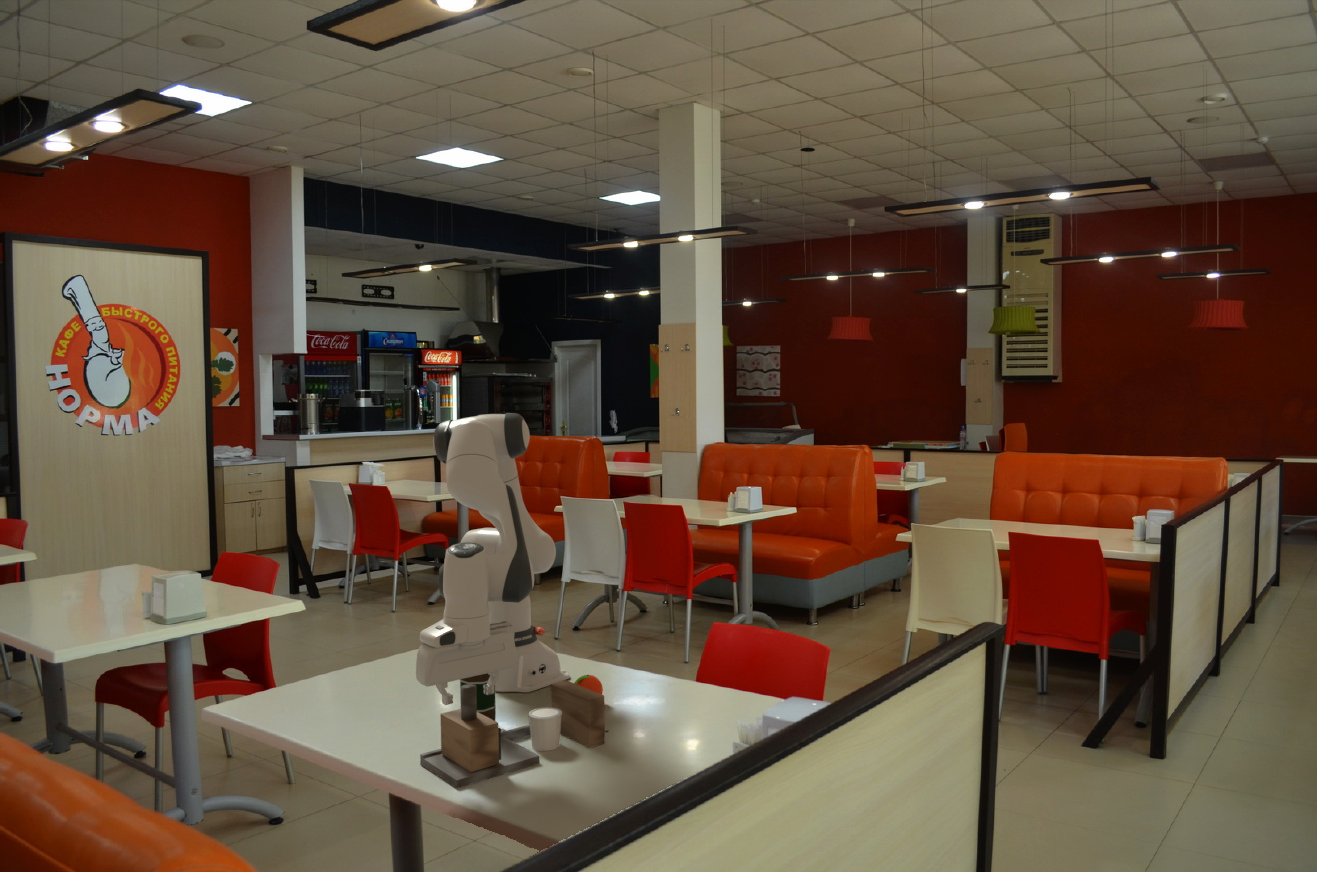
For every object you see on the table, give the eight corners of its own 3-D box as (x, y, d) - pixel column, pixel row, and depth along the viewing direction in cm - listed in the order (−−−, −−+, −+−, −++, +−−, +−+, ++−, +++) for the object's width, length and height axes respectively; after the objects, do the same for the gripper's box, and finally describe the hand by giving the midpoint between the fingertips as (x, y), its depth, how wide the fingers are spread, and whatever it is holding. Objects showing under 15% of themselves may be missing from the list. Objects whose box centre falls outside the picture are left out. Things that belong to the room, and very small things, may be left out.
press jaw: (472, 745, 191) (470, 675, 190) (502, 762, 182) (501, 689, 181) (441, 753, 186) (439, 682, 186) (471, 772, 177) (469, 697, 177)
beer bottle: (466, 735, 201) (464, 624, 200) (456, 724, 208) (454, 616, 207) (501, 729, 205) (499, 619, 204) (490, 718, 212) (488, 612, 210)
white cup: (529, 740, 198) (529, 707, 198) (562, 738, 199) (562, 706, 198) (528, 752, 191) (527, 718, 191) (562, 751, 192) (561, 717, 192)
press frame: (564, 723, 208) (563, 679, 207) (604, 743, 196) (604, 695, 196) (420, 764, 186) (419, 714, 185) (456, 788, 174) (455, 734, 174)
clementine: (581, 712, 215) (580, 682, 214) (563, 705, 220) (563, 675, 220) (609, 705, 220) (608, 674, 220) (590, 697, 225) (590, 668, 225)
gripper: (505, 616, 192) (506, 683, 192) (411, 634, 178) (413, 706, 179) (522, 622, 187) (523, 691, 187) (426, 640, 174) (428, 714, 174)
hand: (468, 698), depth 183 cm, fingers open, 8 cm apart
